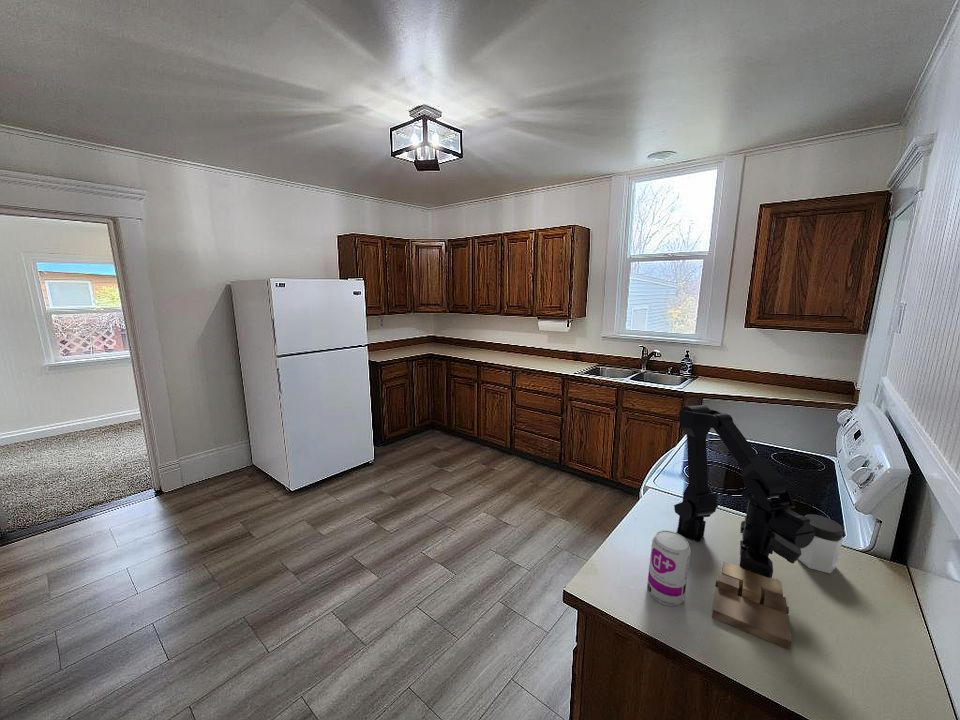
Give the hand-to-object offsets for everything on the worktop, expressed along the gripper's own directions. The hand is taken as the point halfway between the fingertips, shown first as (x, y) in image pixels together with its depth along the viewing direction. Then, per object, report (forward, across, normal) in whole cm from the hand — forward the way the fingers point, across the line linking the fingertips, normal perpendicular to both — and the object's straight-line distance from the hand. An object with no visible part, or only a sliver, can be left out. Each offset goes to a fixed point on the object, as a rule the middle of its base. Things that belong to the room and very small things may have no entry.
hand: (750, 575), depth 99 cm
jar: (+2, +19, -15) cm, 24 cm away
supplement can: (+2, -17, +17) cm, 24 cm away
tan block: (+2, -6, 0) cm, 6 cm away
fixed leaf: (+2, -12, 0) cm, 12 cm away
